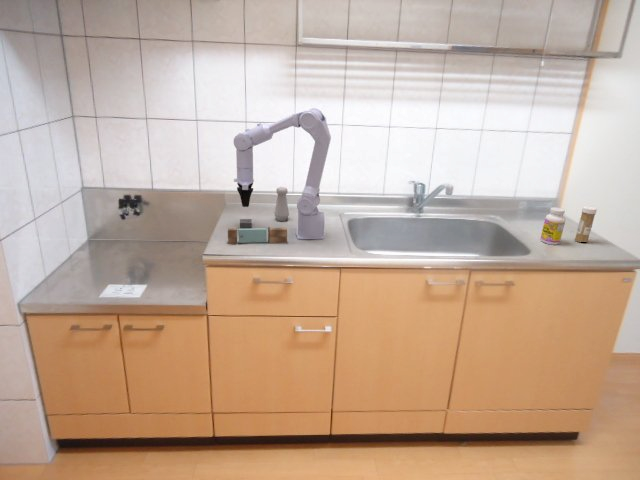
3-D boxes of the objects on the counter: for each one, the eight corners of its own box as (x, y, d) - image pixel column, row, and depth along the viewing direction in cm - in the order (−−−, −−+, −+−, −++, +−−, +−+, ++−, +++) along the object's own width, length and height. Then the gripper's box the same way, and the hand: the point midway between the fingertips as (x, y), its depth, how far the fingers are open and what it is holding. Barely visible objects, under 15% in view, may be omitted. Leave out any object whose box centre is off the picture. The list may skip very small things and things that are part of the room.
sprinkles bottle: (587, 244, 168) (597, 210, 163) (573, 241, 170) (583, 207, 165) (587, 240, 172) (597, 207, 167) (574, 238, 174) (583, 204, 169)
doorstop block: (251, 234, 162) (251, 219, 160) (251, 239, 158) (251, 222, 156) (240, 235, 161) (240, 219, 159) (240, 239, 158) (239, 222, 155)
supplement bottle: (535, 239, 170) (543, 207, 166) (549, 238, 173) (557, 205, 168) (549, 246, 165) (558, 212, 160) (563, 244, 167) (572, 211, 162)
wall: (286, 241, 158) (286, 226, 156) (287, 243, 156) (287, 228, 154) (228, 242, 154) (227, 227, 152) (228, 244, 153) (227, 229, 151)
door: (266, 241, 156) (266, 228, 154) (266, 243, 154) (266, 230, 153) (238, 241, 155) (238, 228, 153) (238, 243, 153) (238, 230, 151)
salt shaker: (290, 217, 181) (290, 186, 176) (287, 222, 176) (288, 190, 171) (275, 216, 182) (276, 185, 177) (272, 221, 176) (273, 189, 172)
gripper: (233, 162, 165) (234, 198, 170) (232, 171, 152) (233, 210, 157) (253, 162, 167) (253, 198, 172) (254, 171, 153) (254, 210, 158)
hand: (245, 204), depth 164 cm, fingers open, 6 cm apart
